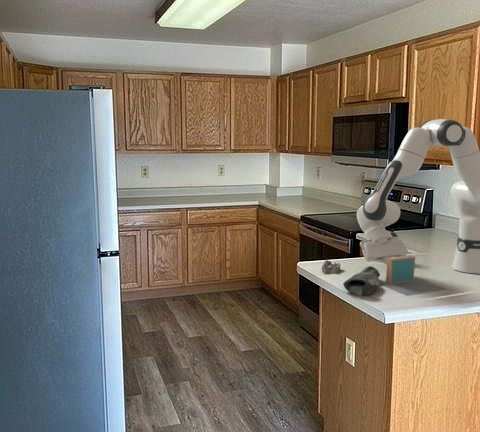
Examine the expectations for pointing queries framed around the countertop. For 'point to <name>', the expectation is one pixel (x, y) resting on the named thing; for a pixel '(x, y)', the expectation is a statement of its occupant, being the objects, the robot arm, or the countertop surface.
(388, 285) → the mat
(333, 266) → the egg carton
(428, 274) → the countertop surface
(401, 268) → the tile
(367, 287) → the detergent
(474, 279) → the countertop surface
